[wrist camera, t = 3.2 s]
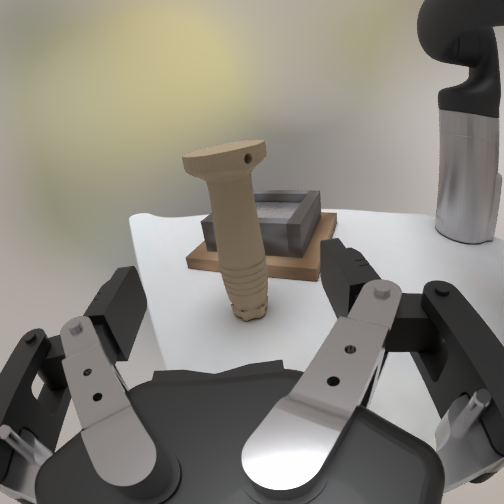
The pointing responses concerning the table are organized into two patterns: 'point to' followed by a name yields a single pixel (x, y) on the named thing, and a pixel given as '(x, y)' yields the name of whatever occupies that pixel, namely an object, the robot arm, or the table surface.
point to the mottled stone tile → (276, 209)
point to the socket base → (279, 237)
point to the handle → (235, 220)
